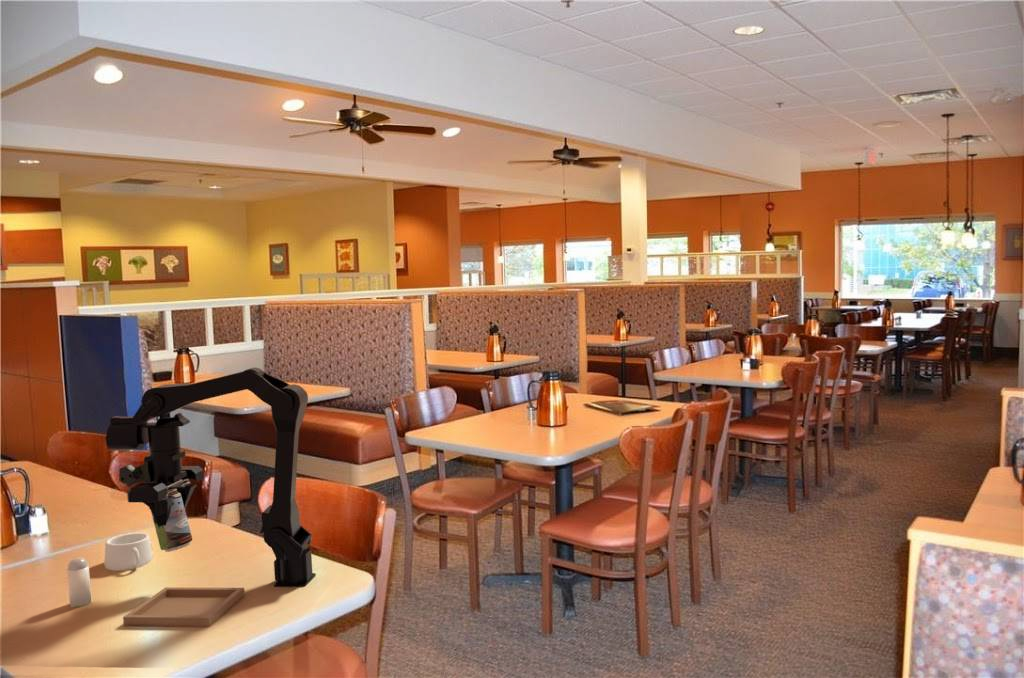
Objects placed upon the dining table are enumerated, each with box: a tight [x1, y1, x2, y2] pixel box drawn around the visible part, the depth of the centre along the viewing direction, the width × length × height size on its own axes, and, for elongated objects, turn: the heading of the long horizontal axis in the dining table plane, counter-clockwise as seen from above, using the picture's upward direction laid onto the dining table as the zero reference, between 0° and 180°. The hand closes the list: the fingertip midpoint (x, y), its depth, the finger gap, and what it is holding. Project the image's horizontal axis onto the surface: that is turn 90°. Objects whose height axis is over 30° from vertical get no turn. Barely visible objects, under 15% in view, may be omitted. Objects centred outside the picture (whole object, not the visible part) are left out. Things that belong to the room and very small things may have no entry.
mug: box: [103, 532, 154, 572], centre depth 175 cm, size 12×10×6 cm
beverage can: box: [150, 489, 193, 553], centre depth 161 cm, size 6×7×12 cm
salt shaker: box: [67, 556, 92, 608], centre depth 154 cm, size 4×4×9 cm
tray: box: [122, 586, 246, 628], centre depth 149 cm, size 16×14×2 cm
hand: (170, 525), depth 161 cm, fingers closed on beverage can, 5 cm apart
